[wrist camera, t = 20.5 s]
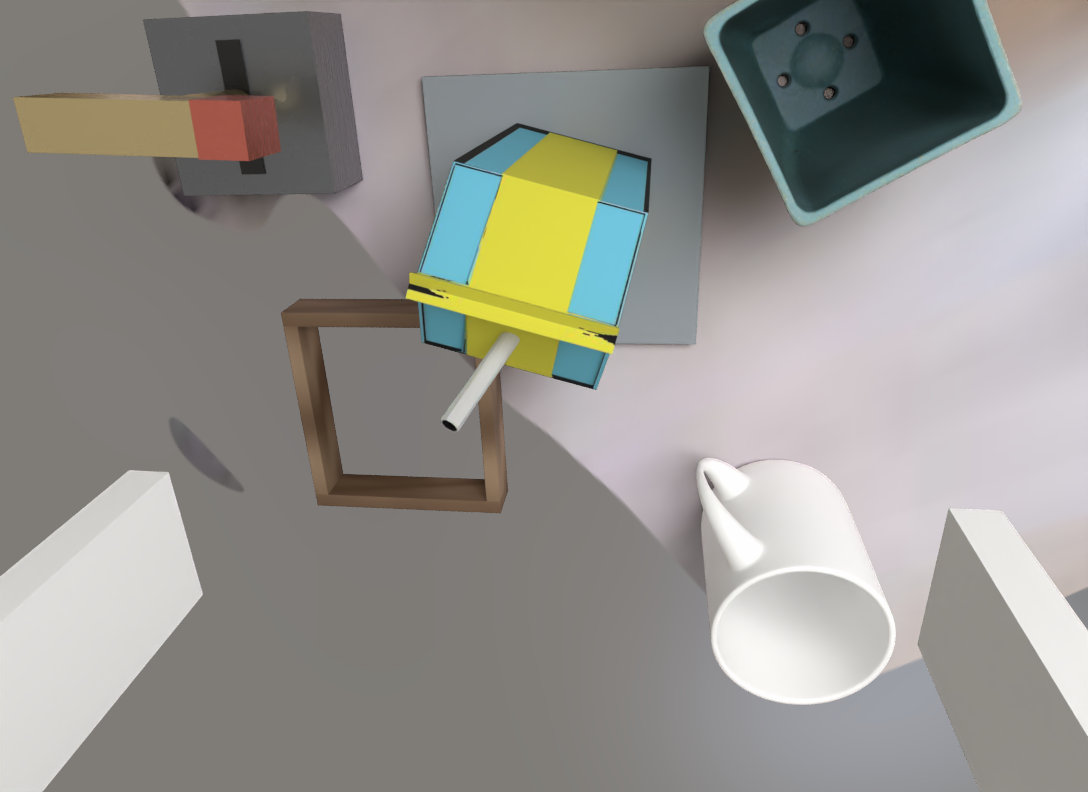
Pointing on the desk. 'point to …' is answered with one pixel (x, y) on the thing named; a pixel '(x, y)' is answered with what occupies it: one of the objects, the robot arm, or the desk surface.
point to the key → (151, 124)
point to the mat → (613, 121)
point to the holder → (321, 428)
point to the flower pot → (860, 89)
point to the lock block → (266, 70)
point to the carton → (532, 258)
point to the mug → (789, 584)
